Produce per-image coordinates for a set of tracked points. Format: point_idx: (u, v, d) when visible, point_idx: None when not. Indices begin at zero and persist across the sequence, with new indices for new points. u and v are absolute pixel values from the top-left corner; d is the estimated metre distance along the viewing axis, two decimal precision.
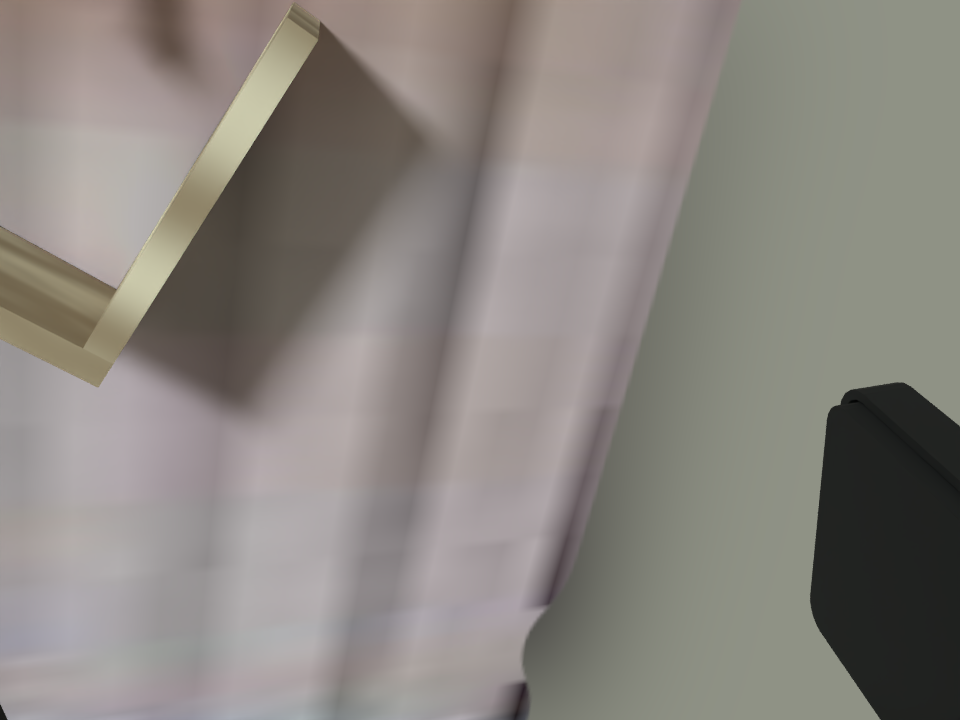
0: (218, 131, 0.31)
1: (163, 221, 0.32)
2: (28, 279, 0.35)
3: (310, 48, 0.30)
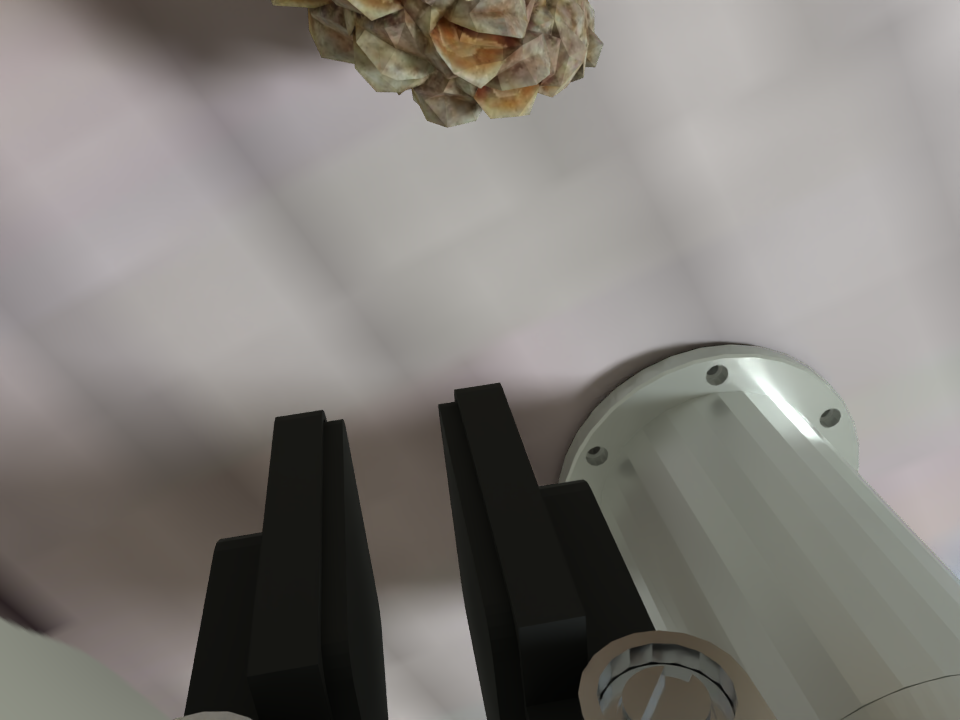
0: None
1: None
2: None
3: None
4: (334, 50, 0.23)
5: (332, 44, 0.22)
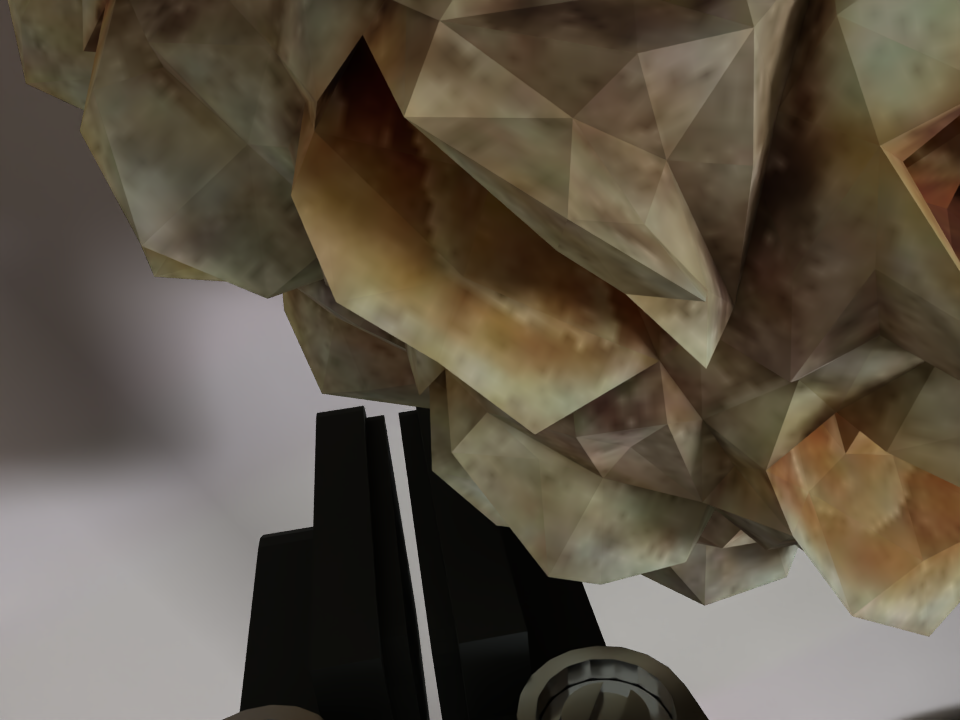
0: None
1: None
2: None
3: None
4: (362, 381, 0.07)
5: (356, 366, 0.07)
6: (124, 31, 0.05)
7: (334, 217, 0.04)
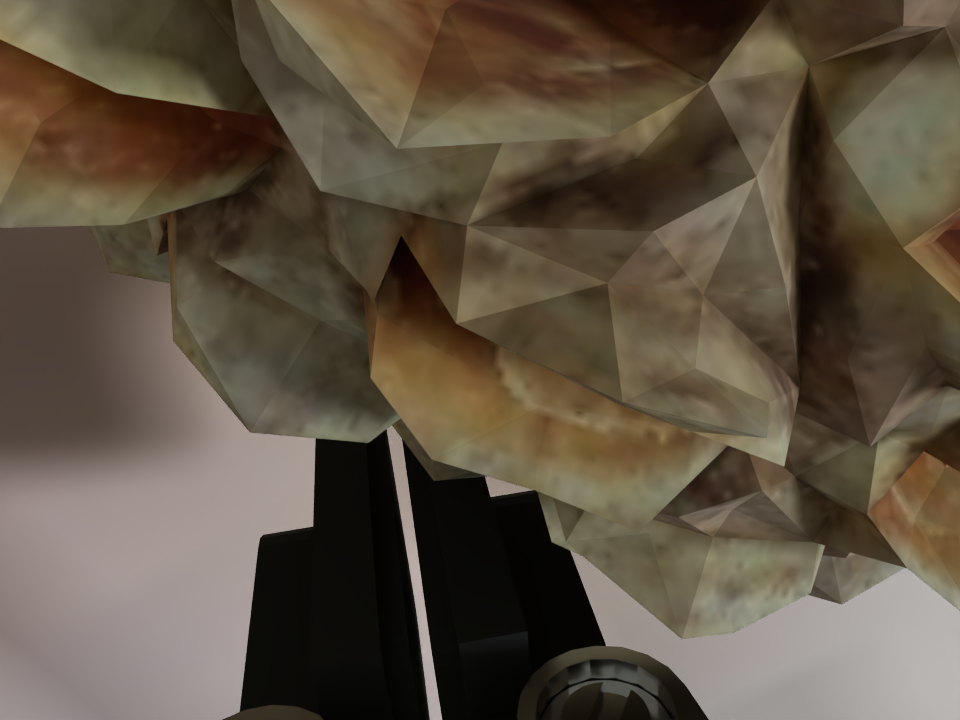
0: None
1: None
2: None
3: None
4: None
5: None
6: (190, 246, 0.05)
7: (412, 385, 0.05)
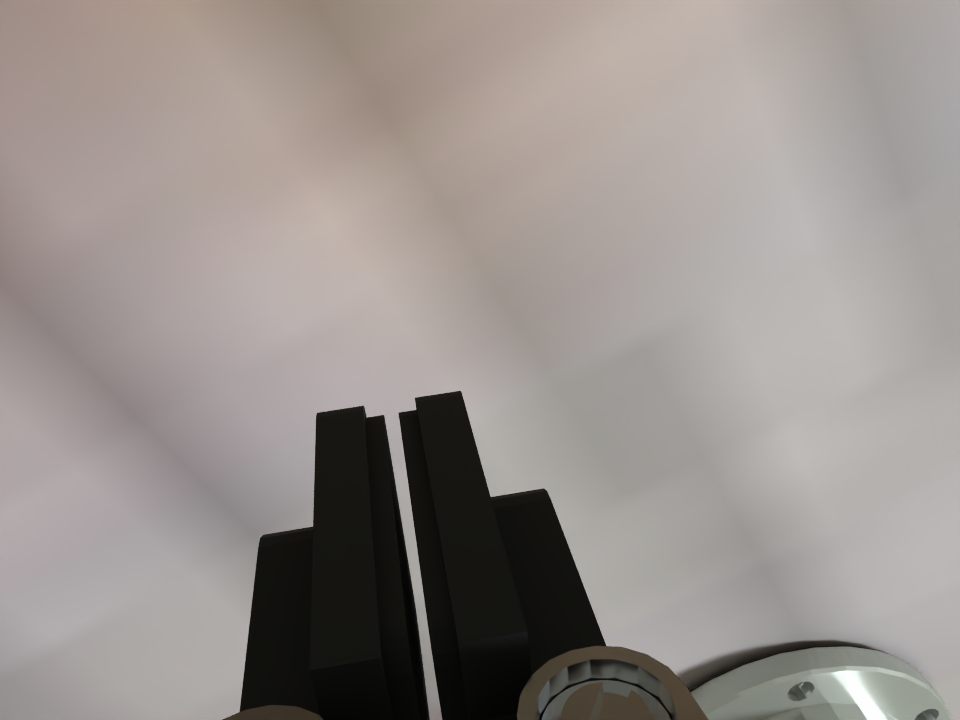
0: None
1: None
2: None
3: None
4: None
5: None
6: None
7: None
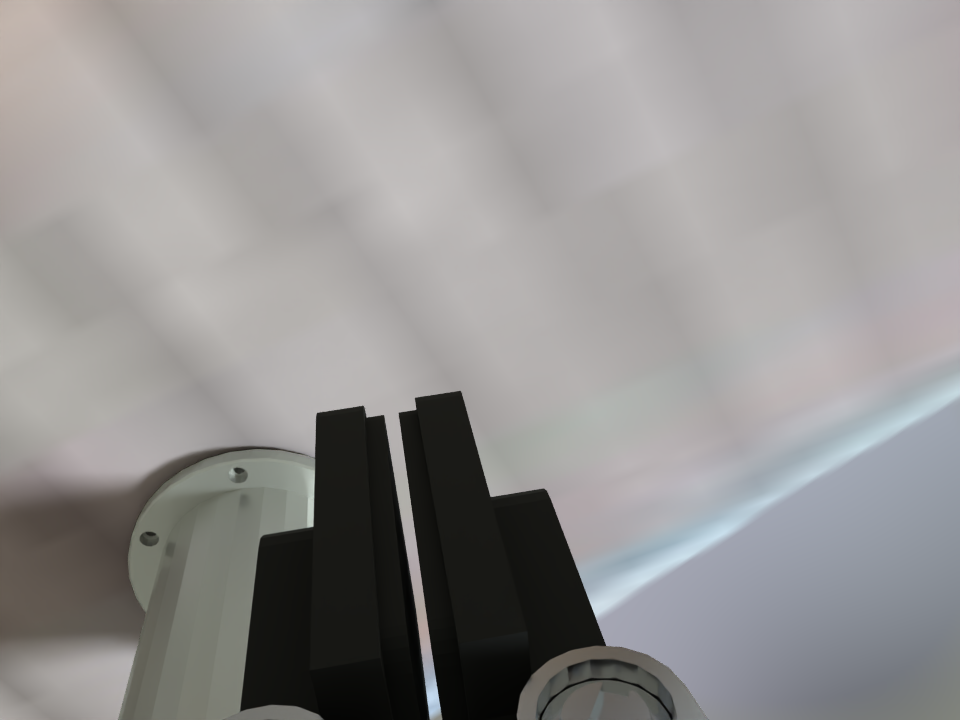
0: None
1: None
2: None
3: None
4: None
5: None
6: None
7: None
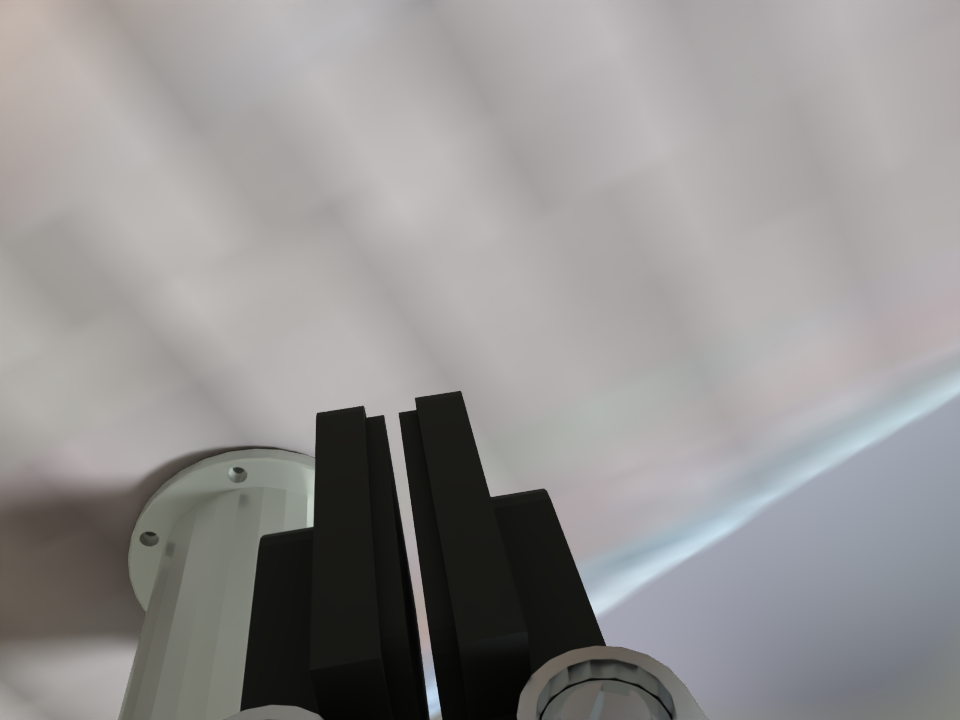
0: None
1: None
2: None
3: None
4: None
5: None
6: None
7: None
